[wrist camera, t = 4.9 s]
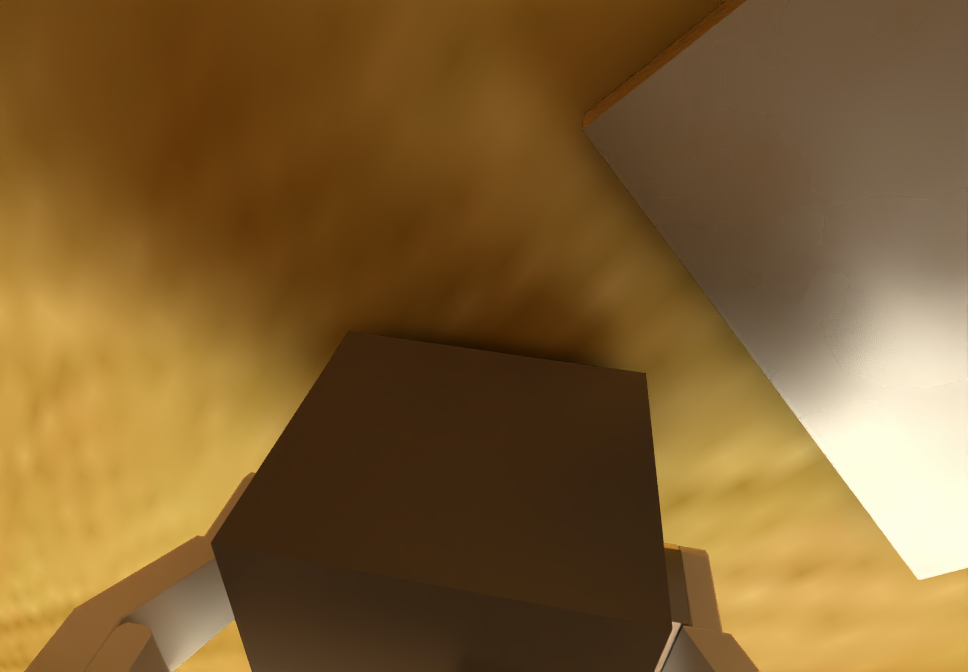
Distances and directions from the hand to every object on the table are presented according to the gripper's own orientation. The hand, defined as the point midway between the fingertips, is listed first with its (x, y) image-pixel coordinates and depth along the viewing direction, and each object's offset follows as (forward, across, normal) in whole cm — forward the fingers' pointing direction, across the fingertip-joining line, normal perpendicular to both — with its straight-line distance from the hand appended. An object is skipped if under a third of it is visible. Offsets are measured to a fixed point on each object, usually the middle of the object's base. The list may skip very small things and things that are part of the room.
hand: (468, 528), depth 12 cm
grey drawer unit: (+2, 0, 0) cm, 2 cm away
